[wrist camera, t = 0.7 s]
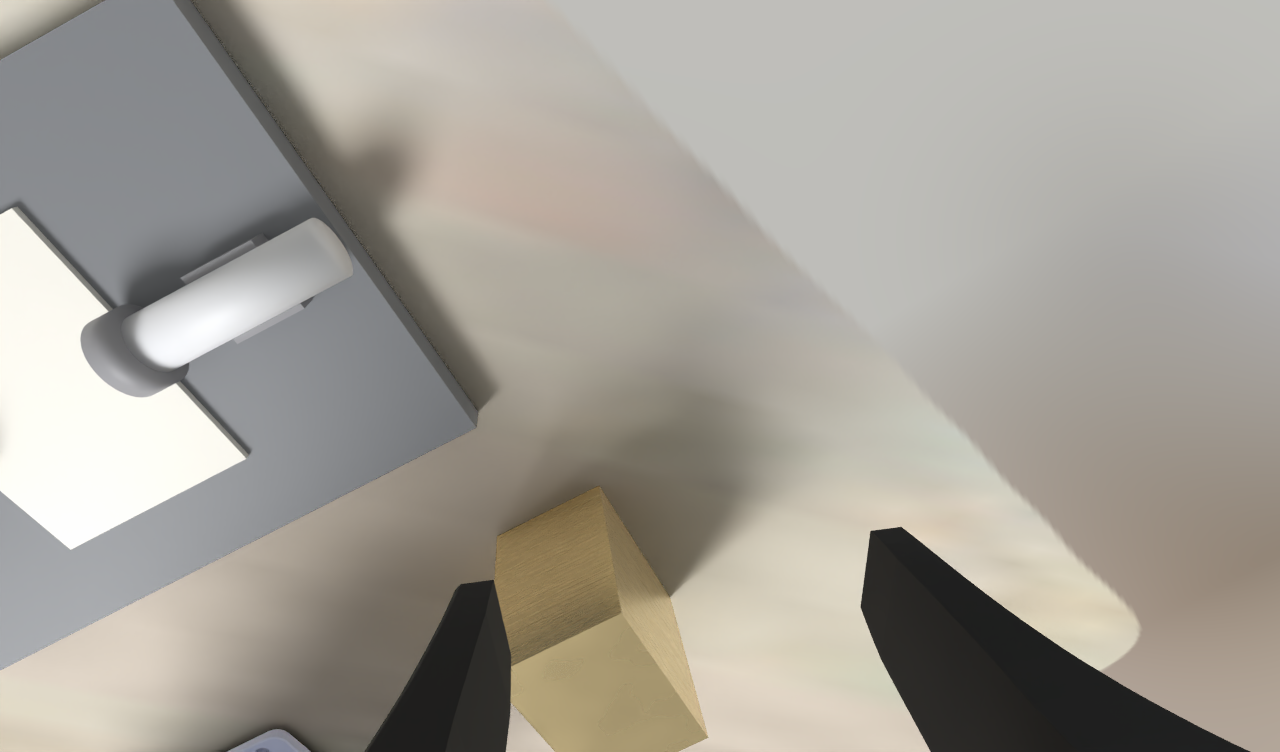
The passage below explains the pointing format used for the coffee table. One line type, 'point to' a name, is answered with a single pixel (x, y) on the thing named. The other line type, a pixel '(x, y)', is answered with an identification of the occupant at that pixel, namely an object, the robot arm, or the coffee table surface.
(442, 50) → the coffee table surface
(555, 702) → the wooden block
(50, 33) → the shaft rig
